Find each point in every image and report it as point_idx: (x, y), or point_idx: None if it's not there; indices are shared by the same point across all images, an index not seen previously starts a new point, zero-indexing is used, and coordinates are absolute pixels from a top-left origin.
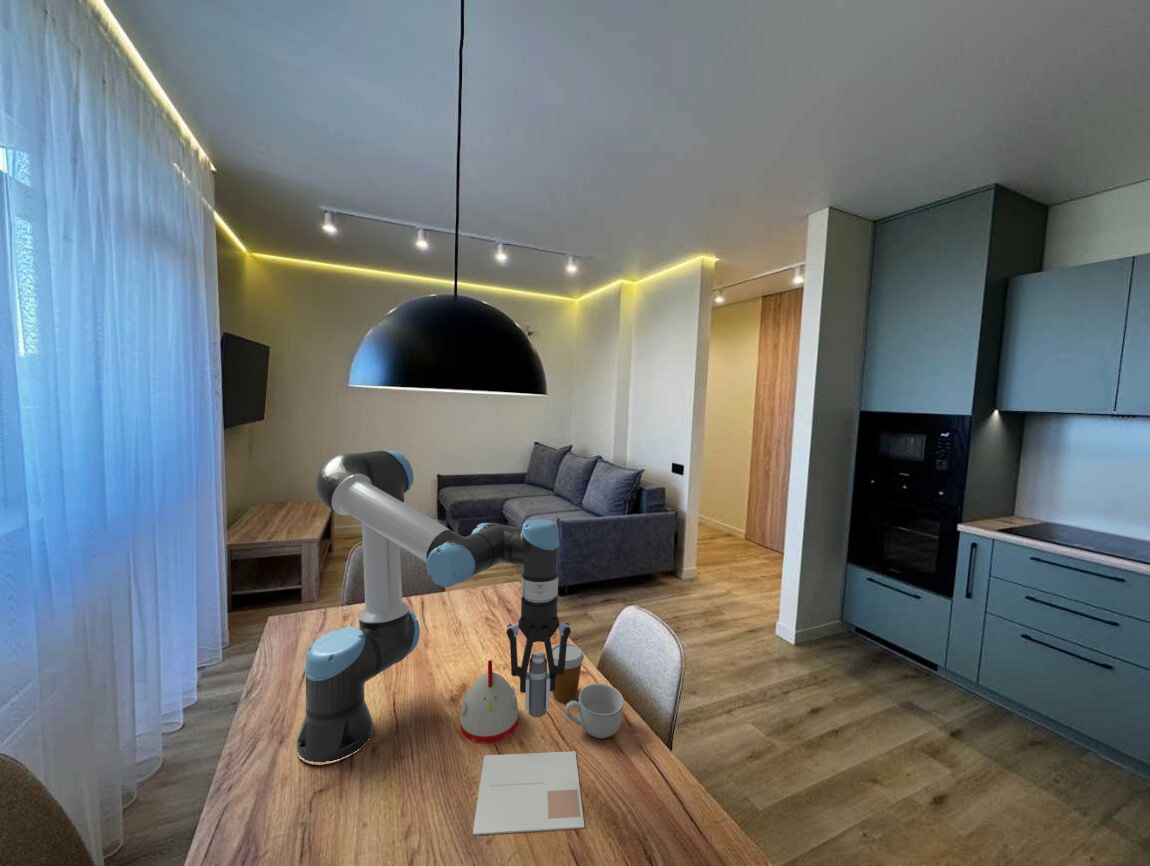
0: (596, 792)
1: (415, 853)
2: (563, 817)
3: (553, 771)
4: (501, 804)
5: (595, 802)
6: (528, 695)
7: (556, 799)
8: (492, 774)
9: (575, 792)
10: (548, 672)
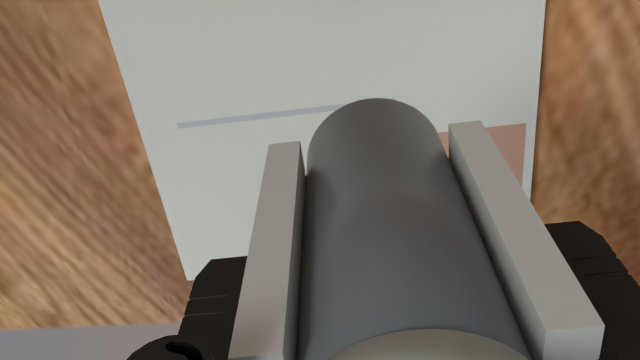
0: (598, 121)
1: (58, 321)
2: None
3: (432, 41)
4: (245, 195)
5: (583, 160)
6: None
7: None
8: (168, 72)
9: (516, 135)
10: (582, 348)
